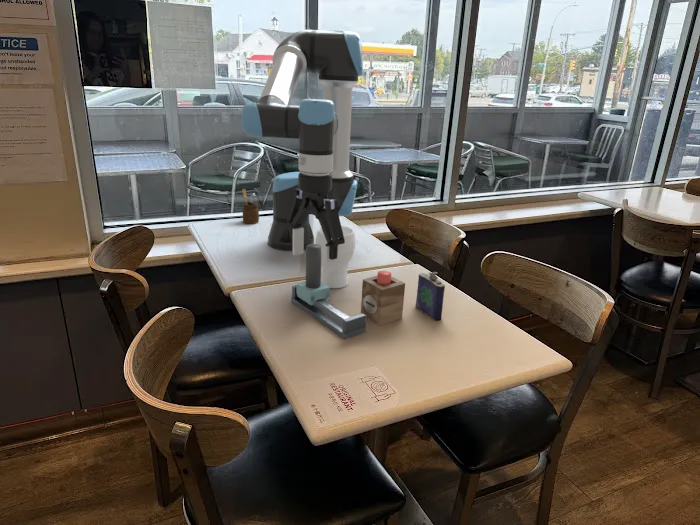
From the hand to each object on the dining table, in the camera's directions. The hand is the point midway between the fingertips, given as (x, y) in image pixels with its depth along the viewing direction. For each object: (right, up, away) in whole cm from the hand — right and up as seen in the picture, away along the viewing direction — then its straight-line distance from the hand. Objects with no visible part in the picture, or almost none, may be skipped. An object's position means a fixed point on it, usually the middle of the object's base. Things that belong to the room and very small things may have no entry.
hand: (313, 262), depth 117 cm
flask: (+28, -13, +4) cm, 31 cm away
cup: (+4, -6, +19) cm, 20 cm away
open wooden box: (+16, -13, +1) cm, 21 cm away
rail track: (+3, -13, 0) cm, 13 cm away
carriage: (0, -9, +4) cm, 9 cm away
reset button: (+16, -7, -1) cm, 18 cm away
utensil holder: (-29, +15, +69) cm, 76 cm away
